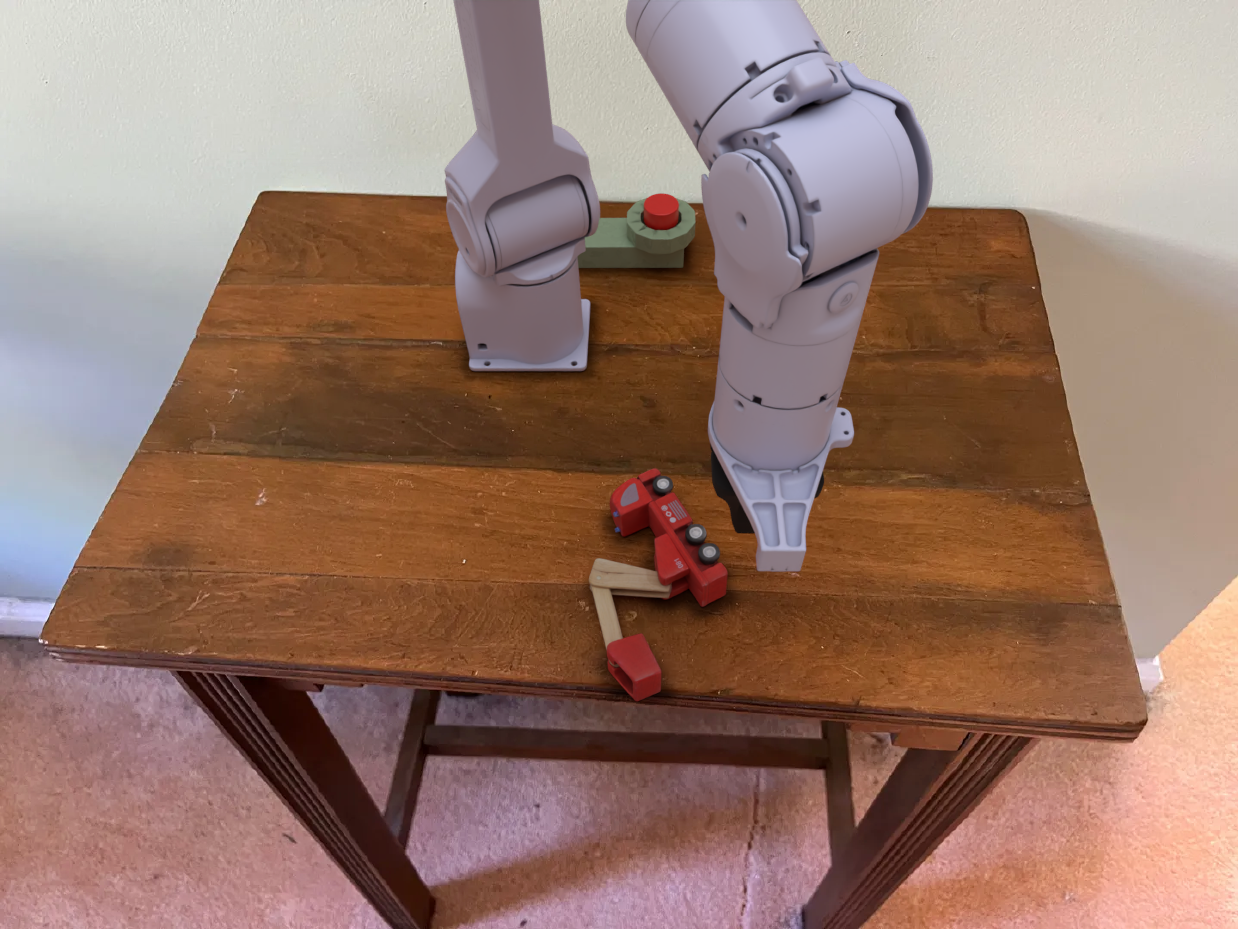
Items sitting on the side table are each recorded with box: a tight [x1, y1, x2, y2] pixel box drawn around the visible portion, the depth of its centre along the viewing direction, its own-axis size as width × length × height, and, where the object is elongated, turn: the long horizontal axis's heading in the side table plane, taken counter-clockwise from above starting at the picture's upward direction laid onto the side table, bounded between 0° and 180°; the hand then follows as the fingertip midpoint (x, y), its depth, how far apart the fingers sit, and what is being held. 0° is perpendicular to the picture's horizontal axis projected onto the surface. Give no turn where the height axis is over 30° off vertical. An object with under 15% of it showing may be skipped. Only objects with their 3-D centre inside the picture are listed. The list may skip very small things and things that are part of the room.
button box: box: [578, 197, 696, 269], centre depth 76 cm, size 11×6×4 cm, turn 89°
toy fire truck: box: [588, 467, 729, 702], centre depth 57 cm, size 3×14×10 cm
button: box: [644, 192, 679, 230], centre depth 74 cm, size 3×3×2 cm
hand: (752, 523), depth 50 cm, fingers closed
